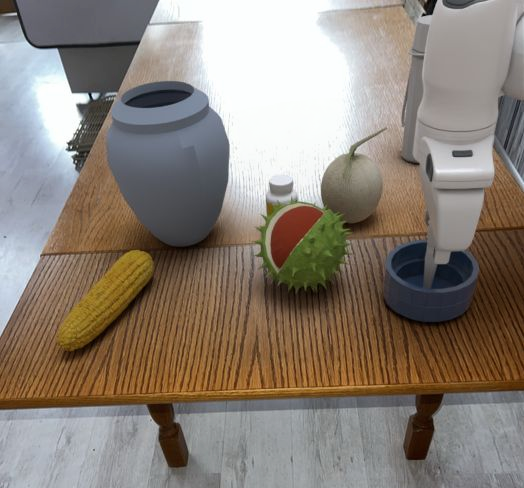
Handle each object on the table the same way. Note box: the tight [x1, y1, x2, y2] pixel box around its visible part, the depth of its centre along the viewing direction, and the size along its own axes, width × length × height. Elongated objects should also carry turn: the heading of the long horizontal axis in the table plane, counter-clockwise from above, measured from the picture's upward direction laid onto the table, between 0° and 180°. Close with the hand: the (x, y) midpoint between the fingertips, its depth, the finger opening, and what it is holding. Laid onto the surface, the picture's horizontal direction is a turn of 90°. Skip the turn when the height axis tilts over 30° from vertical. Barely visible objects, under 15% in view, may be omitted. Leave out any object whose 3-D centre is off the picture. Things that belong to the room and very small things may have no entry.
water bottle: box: [400, 14, 433, 164], centre depth 106 cm, size 9×8×25 cm
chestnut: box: [251, 196, 354, 296], centre depth 81 cm, size 15×14×15 cm
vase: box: [105, 80, 231, 248], centre depth 90 cm, size 20×20×24 cm
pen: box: [423, 219, 437, 289], centre depth 76 cm, size 2×3×14 cm
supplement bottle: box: [265, 173, 299, 217], centre depth 94 cm, size 5×5×10 cm
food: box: [56, 249, 155, 352], centre depth 82 cm, size 21×6×6 cm, turn 158°
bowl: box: [382, 239, 480, 323], centre depth 79 cm, size 13×13×6 cm
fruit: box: [320, 126, 388, 224], centre depth 93 cm, size 10×12×15 cm
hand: (435, 241), depth 75 cm, fingers open, 8 cm apart
